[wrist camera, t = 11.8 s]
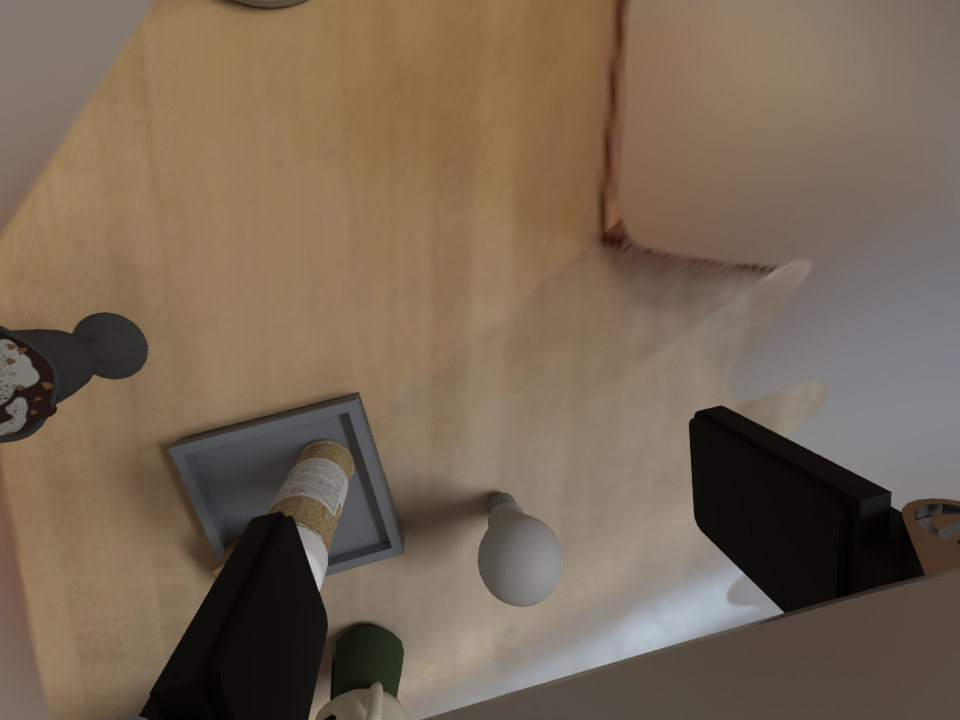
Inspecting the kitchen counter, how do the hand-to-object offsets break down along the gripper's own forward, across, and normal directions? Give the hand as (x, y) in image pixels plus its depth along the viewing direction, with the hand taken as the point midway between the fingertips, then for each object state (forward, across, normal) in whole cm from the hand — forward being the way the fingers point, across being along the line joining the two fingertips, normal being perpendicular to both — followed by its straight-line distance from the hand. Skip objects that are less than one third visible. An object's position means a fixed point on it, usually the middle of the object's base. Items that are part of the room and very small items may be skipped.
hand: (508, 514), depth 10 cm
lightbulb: (+26, -2, +17) cm, 31 cm away
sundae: (+27, +24, -3) cm, 36 cm away
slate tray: (+26, +14, +12) cm, 32 cm away
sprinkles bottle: (+26, +11, +9) cm, 30 cm away
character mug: (+26, +12, +28) cm, 41 cm away
